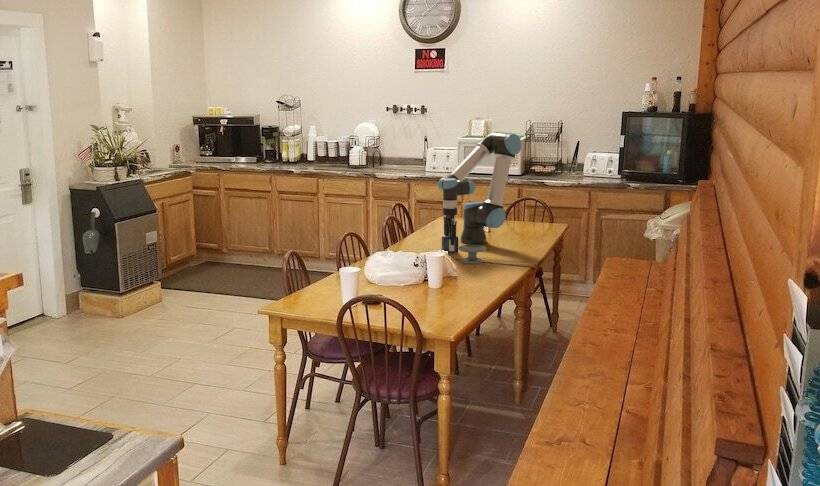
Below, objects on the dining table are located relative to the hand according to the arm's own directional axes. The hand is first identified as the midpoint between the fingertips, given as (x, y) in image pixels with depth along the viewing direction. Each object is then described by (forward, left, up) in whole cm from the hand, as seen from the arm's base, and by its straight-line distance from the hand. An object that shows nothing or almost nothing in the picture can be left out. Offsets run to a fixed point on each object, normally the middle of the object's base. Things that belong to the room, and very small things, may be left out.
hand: (449, 249), depth 400 cm
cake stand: (-4, +22, -2) cm, 22 cm away
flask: (0, 0, -2) cm, 2 cm away
